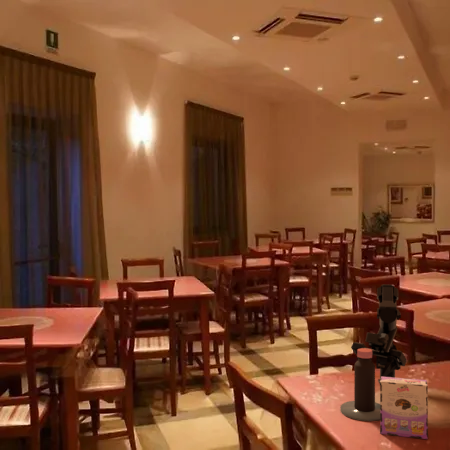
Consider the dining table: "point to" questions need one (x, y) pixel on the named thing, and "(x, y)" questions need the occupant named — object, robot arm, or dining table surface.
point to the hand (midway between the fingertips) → (369, 374)
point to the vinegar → (364, 381)
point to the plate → (360, 412)
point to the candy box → (404, 407)
